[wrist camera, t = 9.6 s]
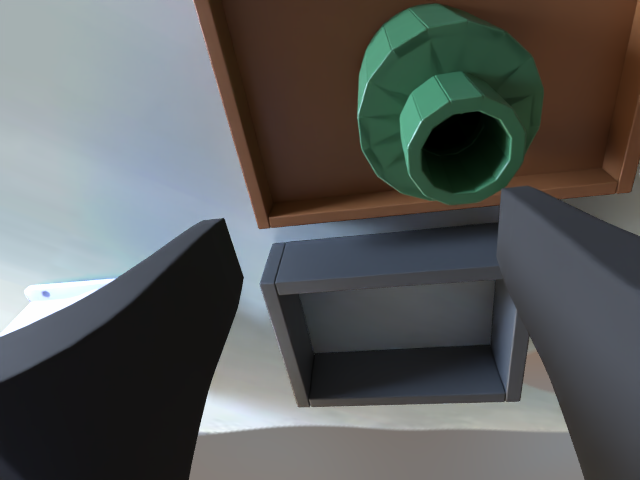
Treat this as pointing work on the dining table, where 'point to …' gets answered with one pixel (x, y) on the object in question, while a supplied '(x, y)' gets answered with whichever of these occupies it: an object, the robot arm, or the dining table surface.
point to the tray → (342, 100)
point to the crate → (406, 364)
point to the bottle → (447, 104)
